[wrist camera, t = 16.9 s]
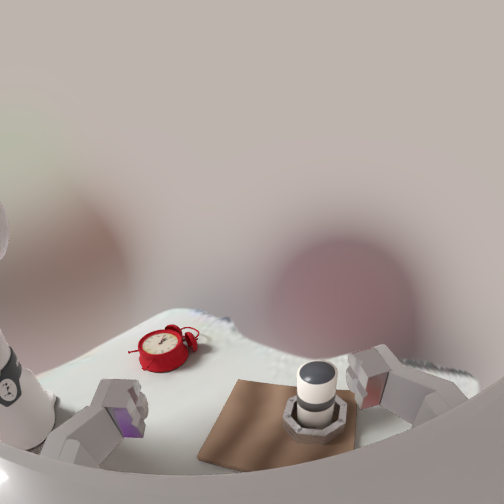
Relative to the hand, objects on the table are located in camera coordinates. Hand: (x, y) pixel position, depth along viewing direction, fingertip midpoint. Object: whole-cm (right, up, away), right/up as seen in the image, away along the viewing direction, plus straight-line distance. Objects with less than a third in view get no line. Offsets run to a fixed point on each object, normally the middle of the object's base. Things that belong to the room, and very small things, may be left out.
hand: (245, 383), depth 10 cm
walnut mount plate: (+5, -21, +26) cm, 33 cm away
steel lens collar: (+9, -19, +25) cm, 33 cm away
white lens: (+9, -19, +25) cm, 33 cm away
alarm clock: (-17, -16, +46) cm, 51 cm away
